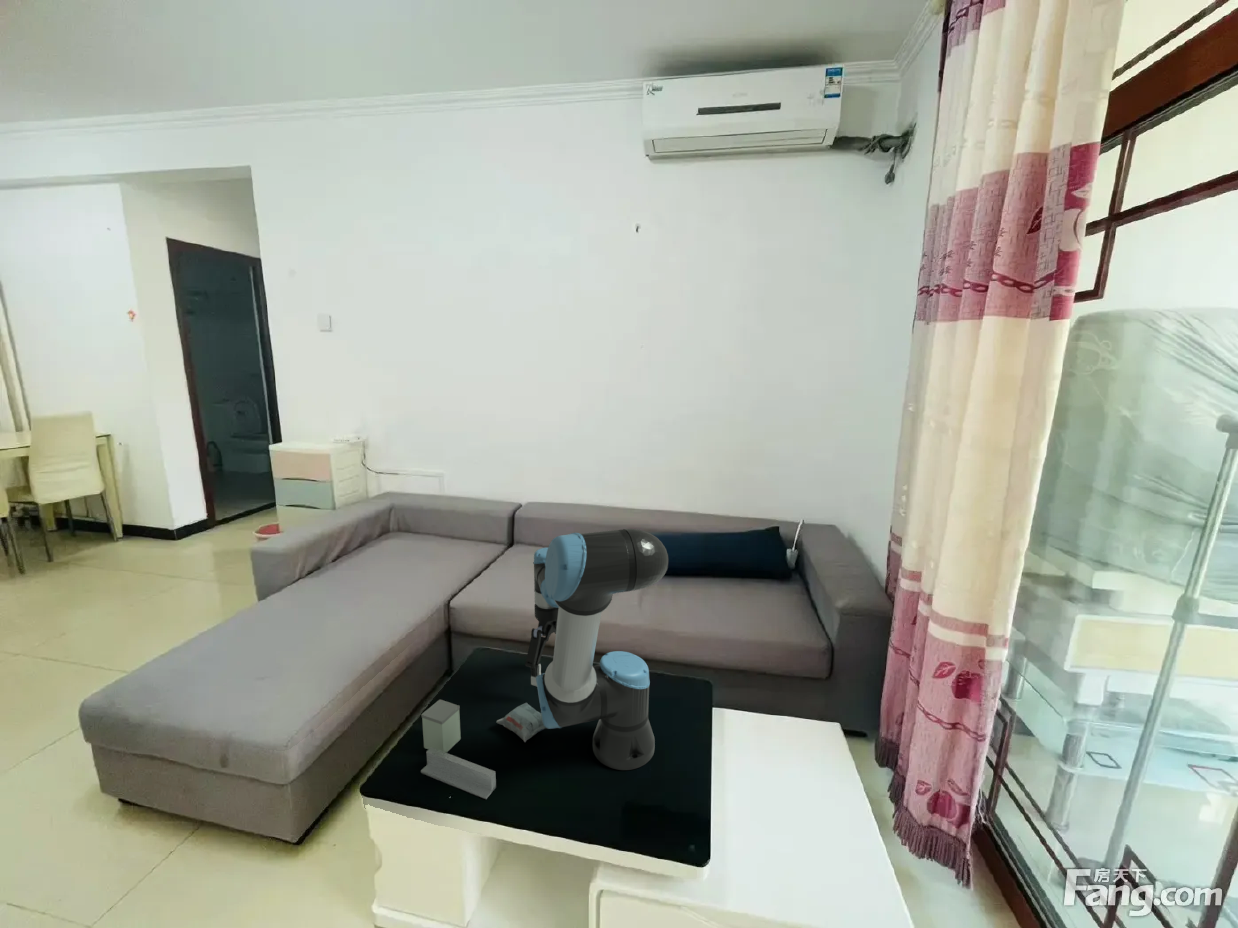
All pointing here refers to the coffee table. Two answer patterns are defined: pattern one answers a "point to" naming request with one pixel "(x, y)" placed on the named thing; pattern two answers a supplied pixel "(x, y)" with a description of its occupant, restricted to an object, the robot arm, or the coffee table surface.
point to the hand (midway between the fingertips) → (548, 671)
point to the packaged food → (523, 721)
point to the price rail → (460, 773)
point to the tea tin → (441, 726)
